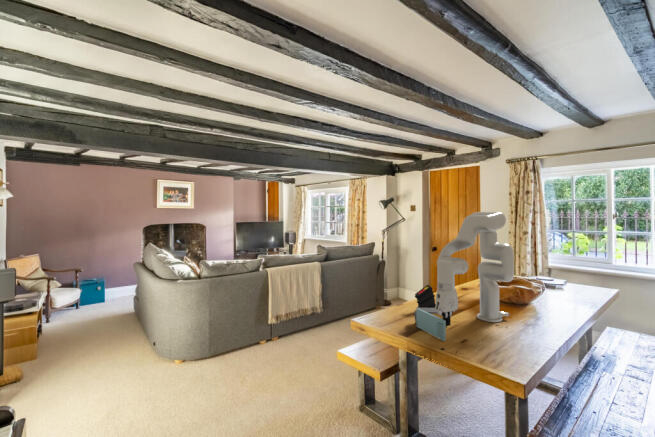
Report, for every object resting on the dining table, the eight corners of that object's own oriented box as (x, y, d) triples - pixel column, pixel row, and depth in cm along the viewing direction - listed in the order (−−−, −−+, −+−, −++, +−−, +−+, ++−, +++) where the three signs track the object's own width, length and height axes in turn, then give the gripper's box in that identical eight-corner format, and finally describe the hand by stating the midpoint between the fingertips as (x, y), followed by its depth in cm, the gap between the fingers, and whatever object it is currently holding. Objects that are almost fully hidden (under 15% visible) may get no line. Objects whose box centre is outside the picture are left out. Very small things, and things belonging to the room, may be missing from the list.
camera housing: (443, 322, 164) (442, 307, 164) (447, 327, 157) (446, 312, 157) (414, 322, 165) (414, 307, 165) (416, 327, 158) (416, 312, 158)
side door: (445, 340, 140) (445, 320, 140) (442, 341, 140) (441, 321, 139) (417, 325, 159) (417, 308, 158) (414, 326, 158) (414, 308, 157)
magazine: (440, 306, 185) (431, 285, 182) (424, 318, 181) (415, 297, 178) (435, 304, 189) (427, 284, 186) (420, 316, 184) (411, 296, 181)
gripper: (440, 290, 136) (440, 330, 136) (464, 285, 142) (464, 324, 143) (428, 286, 142) (428, 325, 143) (451, 282, 149) (451, 319, 149)
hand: (446, 324), depth 143 cm, fingers closed
